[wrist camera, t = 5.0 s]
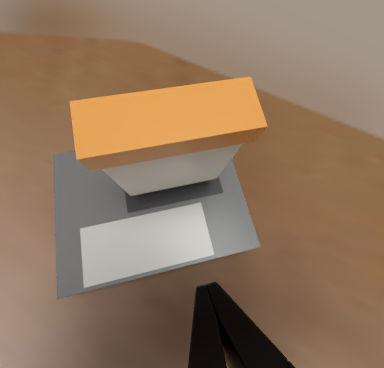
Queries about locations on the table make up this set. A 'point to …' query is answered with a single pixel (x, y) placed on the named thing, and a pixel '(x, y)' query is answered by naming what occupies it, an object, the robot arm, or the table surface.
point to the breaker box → (141, 226)
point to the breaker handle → (166, 133)
